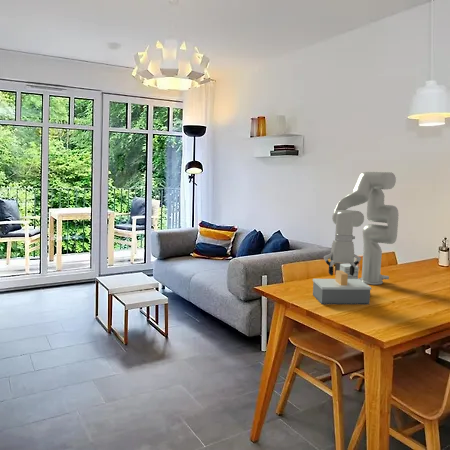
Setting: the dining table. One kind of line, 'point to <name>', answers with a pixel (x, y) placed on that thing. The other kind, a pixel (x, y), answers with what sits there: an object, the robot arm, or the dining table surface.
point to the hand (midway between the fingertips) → (341, 274)
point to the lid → (341, 283)
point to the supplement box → (347, 270)
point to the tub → (341, 296)
